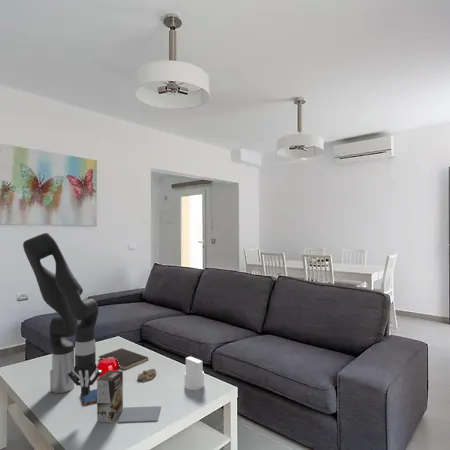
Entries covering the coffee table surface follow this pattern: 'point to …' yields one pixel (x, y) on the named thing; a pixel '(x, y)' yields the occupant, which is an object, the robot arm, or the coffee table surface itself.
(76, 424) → the coffee table surface
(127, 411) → the mat
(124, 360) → the hardcover book
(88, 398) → the woven mat
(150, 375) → the mineral rock
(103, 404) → the coffee box
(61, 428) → the coffee table surface
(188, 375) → the cylinder with rectangular tab
